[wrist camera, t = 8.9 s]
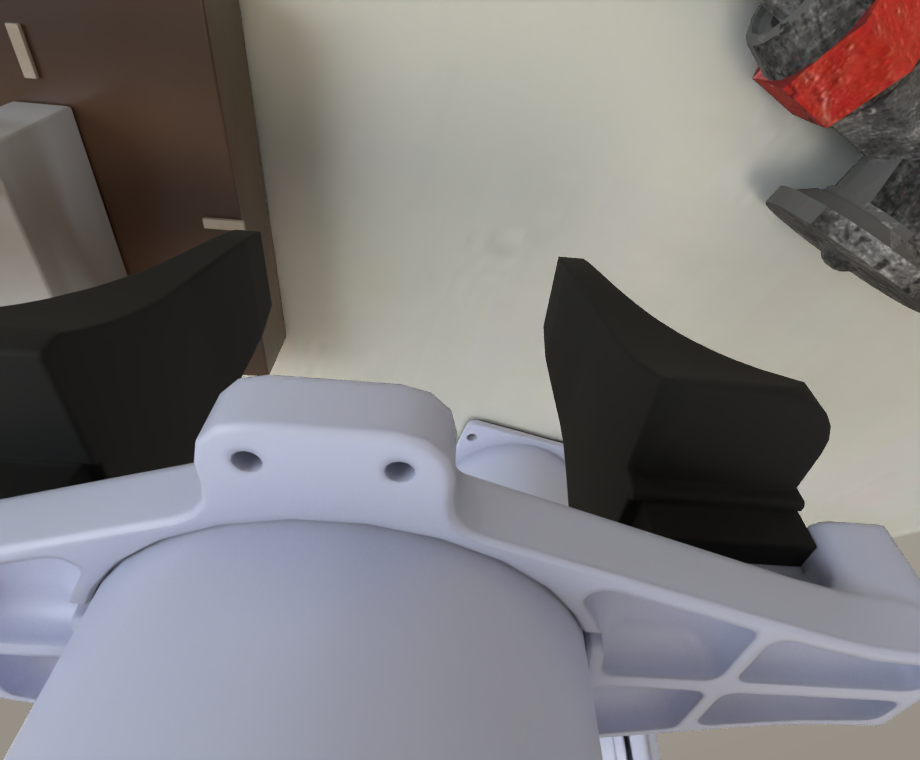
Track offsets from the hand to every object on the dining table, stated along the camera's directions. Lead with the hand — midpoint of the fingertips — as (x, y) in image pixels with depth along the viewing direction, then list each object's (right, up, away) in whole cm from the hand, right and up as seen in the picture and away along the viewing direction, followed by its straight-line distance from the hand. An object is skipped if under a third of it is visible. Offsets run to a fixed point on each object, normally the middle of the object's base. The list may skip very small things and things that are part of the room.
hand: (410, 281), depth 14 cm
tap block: (-12, +5, +8) cm, 15 cm away
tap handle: (-12, +3, +6) cm, 14 cm away
